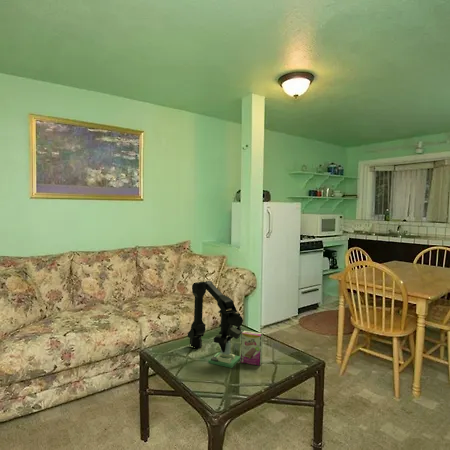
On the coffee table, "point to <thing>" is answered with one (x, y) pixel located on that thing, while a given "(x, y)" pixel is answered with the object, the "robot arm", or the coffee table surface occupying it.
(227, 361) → the board
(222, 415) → the coffee table surface
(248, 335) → the candy bar box
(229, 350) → the plug
